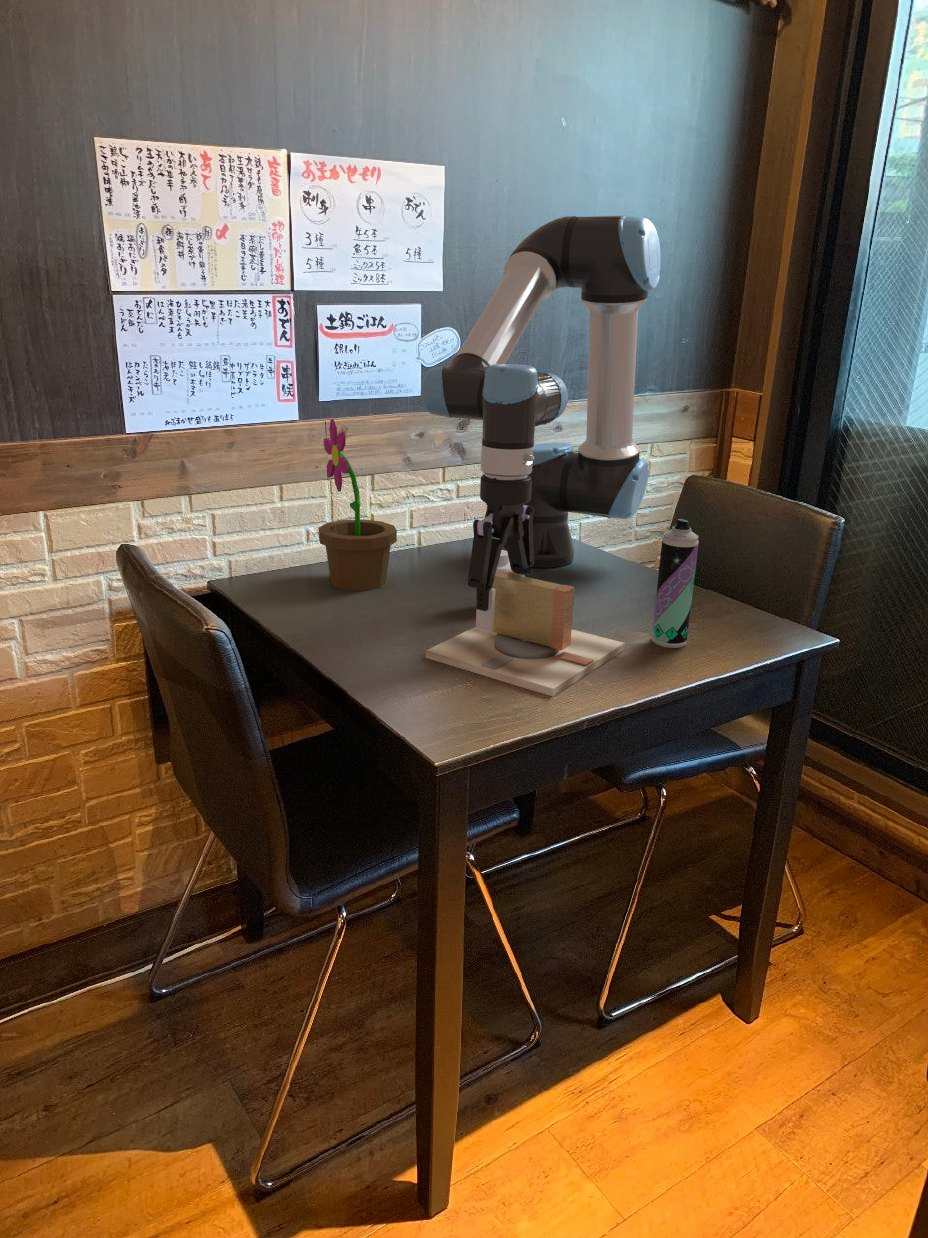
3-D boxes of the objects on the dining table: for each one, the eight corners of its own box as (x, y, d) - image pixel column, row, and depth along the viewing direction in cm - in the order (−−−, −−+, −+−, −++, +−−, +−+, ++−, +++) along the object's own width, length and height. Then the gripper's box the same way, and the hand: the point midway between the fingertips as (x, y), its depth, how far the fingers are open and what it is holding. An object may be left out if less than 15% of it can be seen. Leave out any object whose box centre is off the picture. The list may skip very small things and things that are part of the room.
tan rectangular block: (486, 632, 144) (489, 574, 140) (496, 627, 146) (498, 570, 143) (561, 651, 137) (566, 591, 134) (570, 646, 139) (574, 587, 136)
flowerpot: (308, 575, 176) (304, 414, 165) (379, 567, 182) (378, 412, 172) (334, 598, 164) (331, 426, 154) (409, 589, 170) (410, 423, 160)
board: (505, 618, 157) (506, 605, 156) (624, 650, 145) (625, 635, 144) (425, 657, 140) (426, 642, 139) (552, 696, 128) (553, 680, 127)
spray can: (645, 637, 150) (657, 516, 143) (673, 633, 152) (687, 514, 145) (664, 649, 146) (677, 525, 139) (693, 645, 147) (708, 522, 141)
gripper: (490, 489, 125) (484, 646, 133) (562, 467, 142) (553, 608, 150) (444, 482, 129) (441, 635, 137) (520, 461, 146) (513, 598, 153)
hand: (499, 620), depth 143 cm, fingers open, 8 cm apart
